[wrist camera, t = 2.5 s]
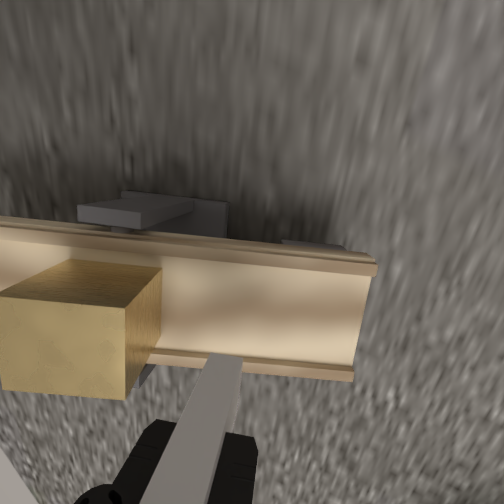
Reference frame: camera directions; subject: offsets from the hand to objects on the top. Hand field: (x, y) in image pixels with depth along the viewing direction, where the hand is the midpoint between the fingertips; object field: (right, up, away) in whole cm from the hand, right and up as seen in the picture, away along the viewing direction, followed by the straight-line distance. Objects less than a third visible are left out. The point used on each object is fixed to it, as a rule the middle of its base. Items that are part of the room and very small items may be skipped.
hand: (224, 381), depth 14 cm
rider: (-8, +3, +6) cm, 10 cm away
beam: (-8, +4, +12) cm, 15 cm away
